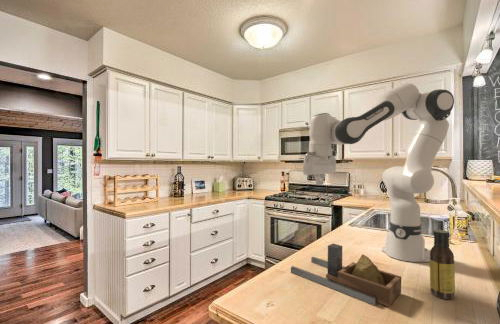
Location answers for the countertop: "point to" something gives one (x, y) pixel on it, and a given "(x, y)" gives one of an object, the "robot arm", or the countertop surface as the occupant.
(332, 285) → the rails
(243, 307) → the countertop surface
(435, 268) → the sauce bottle
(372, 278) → the rock
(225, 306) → the countertop surface
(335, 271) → the sled
